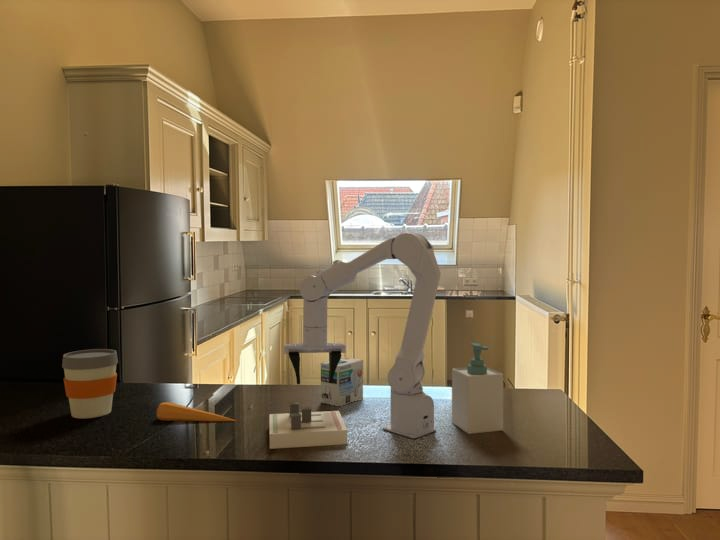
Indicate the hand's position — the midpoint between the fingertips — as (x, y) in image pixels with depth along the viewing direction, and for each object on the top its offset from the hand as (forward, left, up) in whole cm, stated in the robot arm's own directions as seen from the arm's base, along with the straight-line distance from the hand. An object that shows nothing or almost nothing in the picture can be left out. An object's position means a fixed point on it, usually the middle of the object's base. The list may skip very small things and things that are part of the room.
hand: (314, 382), depth 132 cm
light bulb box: (+8, -16, -9) cm, 20 cm away
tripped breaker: (-8, +8, -5) cm, 13 cm away
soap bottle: (-30, -23, -9) cm, 39 cm away
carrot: (+19, +20, -9) cm, 30 cm away
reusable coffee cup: (+44, +36, -9) cm, 57 cm away
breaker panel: (-8, +8, -9) cm, 14 cm away
